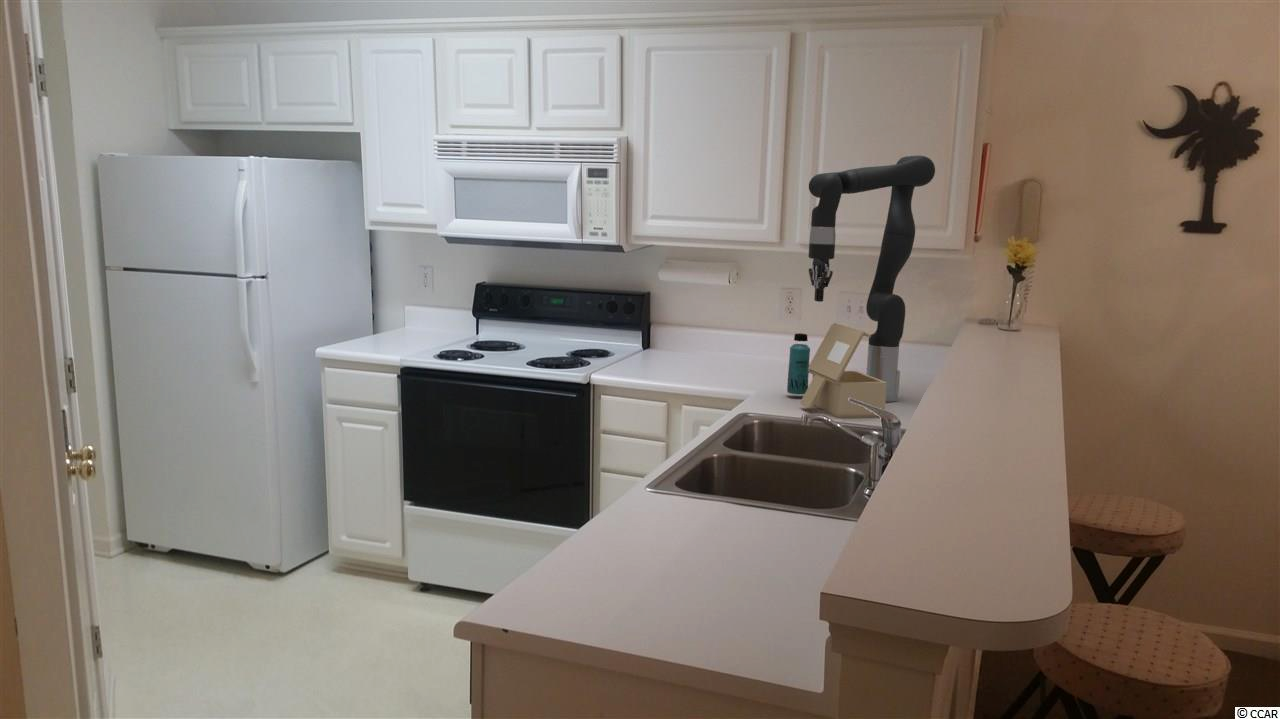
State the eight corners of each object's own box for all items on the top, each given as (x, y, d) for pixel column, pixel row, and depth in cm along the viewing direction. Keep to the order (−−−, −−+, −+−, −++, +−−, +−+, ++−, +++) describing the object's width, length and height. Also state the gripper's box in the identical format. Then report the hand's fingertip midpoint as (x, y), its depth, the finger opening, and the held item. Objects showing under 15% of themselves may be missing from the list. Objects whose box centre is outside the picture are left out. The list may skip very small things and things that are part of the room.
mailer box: (854, 403, 287) (856, 370, 286) (884, 417, 268) (886, 382, 267) (811, 403, 284) (812, 370, 283) (838, 417, 265) (840, 382, 264)
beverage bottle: (782, 395, 296) (785, 332, 293) (800, 394, 298) (804, 332, 295) (793, 399, 290) (797, 335, 287) (812, 398, 292) (815, 334, 289)
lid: (840, 326, 283) (832, 322, 282) (871, 335, 263) (862, 330, 262) (798, 402, 284) (791, 398, 283) (826, 417, 264) (818, 412, 263)
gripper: (843, 243, 272) (839, 303, 274) (825, 242, 284) (821, 299, 287) (819, 243, 270) (815, 303, 273) (801, 241, 283) (798, 299, 285)
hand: (818, 301), depth 280 cm, fingers closed
